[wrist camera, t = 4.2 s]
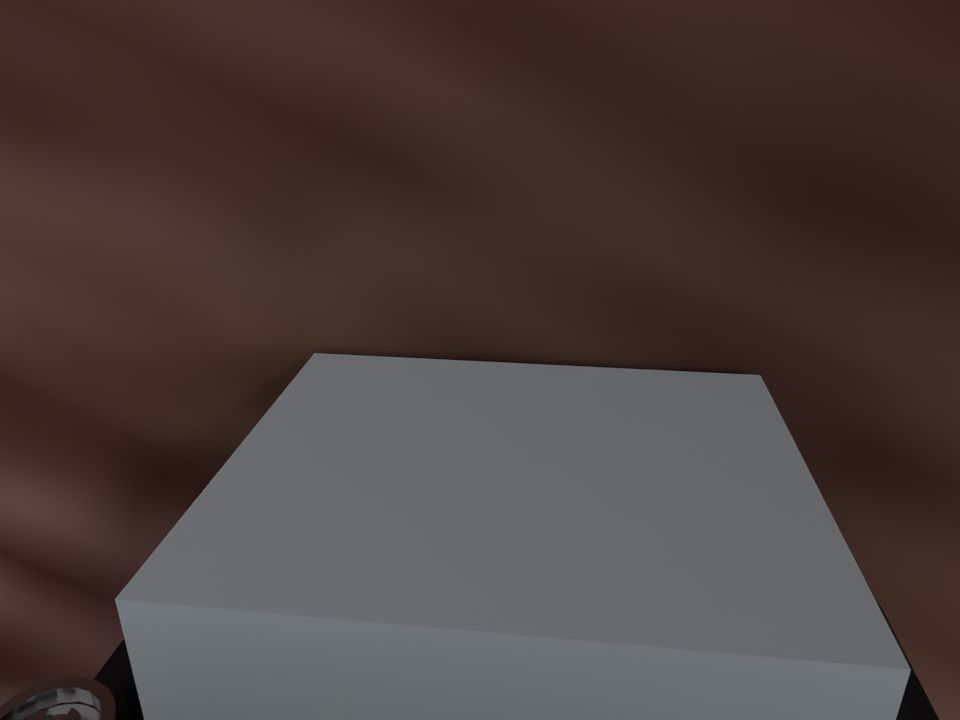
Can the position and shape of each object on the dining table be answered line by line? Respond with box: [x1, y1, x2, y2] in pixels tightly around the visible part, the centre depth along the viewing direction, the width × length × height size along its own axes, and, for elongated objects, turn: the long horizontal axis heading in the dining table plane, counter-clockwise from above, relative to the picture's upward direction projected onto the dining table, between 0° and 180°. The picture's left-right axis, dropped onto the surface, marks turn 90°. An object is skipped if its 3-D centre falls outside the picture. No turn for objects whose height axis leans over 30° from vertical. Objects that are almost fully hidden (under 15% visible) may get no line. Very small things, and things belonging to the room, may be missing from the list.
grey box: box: [115, 353, 911, 720], centre depth 9 cm, size 6×6×5 cm
